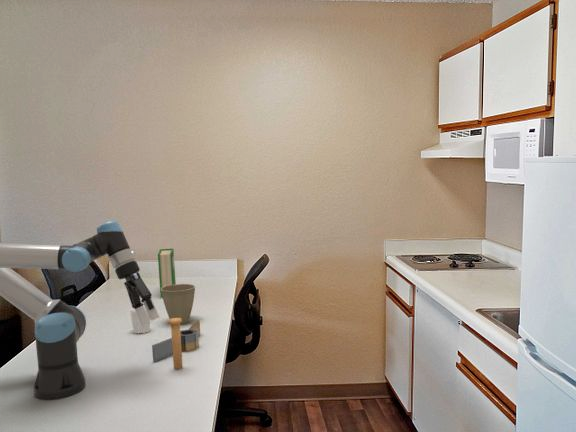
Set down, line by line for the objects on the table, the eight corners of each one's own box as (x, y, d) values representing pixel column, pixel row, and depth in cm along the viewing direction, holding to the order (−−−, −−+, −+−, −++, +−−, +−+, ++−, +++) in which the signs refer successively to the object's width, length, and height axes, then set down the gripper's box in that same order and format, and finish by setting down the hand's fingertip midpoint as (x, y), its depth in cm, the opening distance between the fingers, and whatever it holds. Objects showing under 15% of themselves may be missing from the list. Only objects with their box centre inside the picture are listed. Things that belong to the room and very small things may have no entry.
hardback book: (174, 297, 288) (172, 253, 285) (160, 298, 286) (157, 254, 284) (176, 290, 305) (173, 248, 303) (162, 291, 304) (159, 249, 301)
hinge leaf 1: (187, 343, 212) (186, 328, 211) (202, 346, 207) (202, 331, 206) (146, 359, 195) (145, 343, 194) (162, 364, 190) (161, 347, 190)
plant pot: (197, 325, 235) (194, 289, 234) (162, 328, 233) (159, 292, 231) (197, 316, 250) (195, 282, 248) (164, 319, 247) (162, 285, 246)
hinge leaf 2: (175, 351, 203) (174, 336, 202) (190, 334, 223) (189, 319, 223) (194, 351, 202) (194, 335, 201) (207, 333, 223) (207, 319, 222)
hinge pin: (170, 370, 184) (166, 321, 183) (173, 365, 189) (170, 317, 187) (182, 369, 184) (179, 321, 182) (186, 365, 188) (183, 317, 187)
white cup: (154, 331, 230) (153, 308, 229) (138, 335, 224) (136, 312, 223) (144, 327, 235) (143, 305, 234) (128, 332, 229) (126, 309, 228)
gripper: (142, 251, 174) (170, 311, 172) (128, 268, 195) (153, 322, 193) (120, 260, 170) (148, 321, 168) (108, 276, 191) (133, 331, 189)
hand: (151, 322), depth 180 cm, fingers open, 13 cm apart
